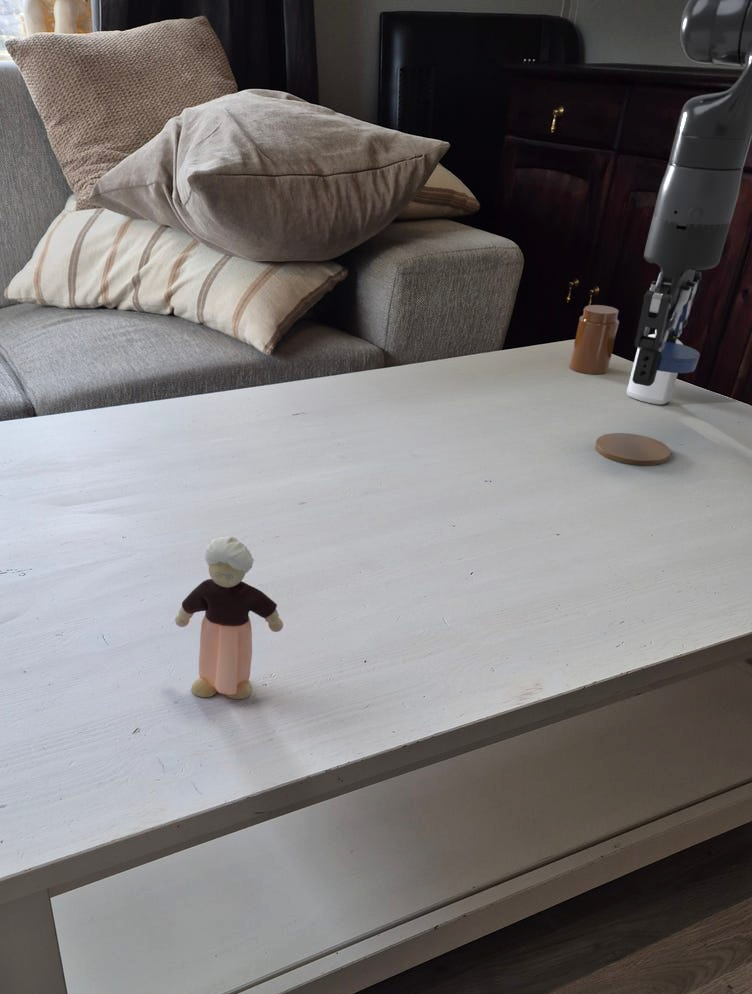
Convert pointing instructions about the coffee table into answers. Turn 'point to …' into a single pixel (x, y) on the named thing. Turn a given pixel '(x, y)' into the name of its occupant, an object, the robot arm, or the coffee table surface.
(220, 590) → the grandmother figurine
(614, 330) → the jar
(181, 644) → the coffee table surface
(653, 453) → the coaster
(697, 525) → the coffee table surface
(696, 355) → the lid
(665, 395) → the eye dropper bottle
